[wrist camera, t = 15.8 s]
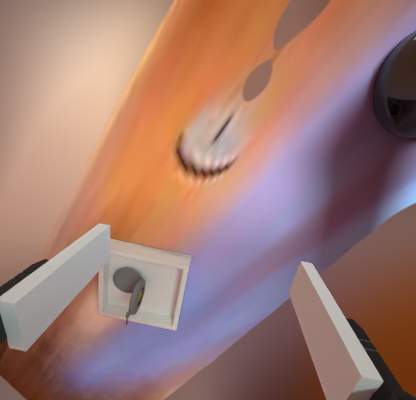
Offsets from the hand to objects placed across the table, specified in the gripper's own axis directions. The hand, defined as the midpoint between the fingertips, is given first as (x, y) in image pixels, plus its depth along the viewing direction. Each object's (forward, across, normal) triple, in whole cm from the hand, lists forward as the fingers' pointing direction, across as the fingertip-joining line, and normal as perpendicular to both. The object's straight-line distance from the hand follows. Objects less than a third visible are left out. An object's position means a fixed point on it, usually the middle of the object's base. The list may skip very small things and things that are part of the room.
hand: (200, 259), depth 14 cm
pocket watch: (+23, -14, -26) cm, 37 cm away
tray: (+24, -12, -26) cm, 37 cm away
